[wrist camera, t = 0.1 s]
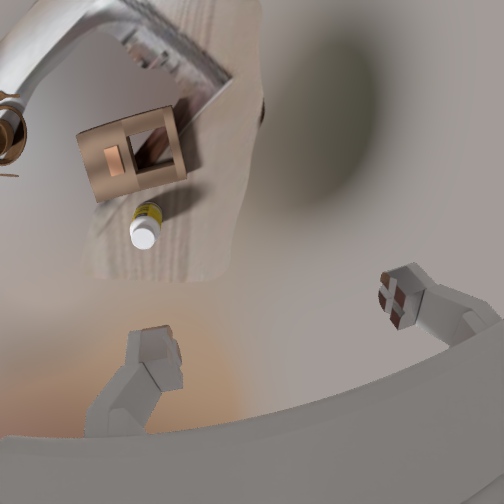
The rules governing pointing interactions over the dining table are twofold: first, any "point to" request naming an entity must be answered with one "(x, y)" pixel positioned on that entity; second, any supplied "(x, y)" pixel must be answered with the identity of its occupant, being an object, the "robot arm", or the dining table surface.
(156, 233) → the supplement bottle
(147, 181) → the block
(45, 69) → the dining table surface
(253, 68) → the dining table surface
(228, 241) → the dining table surface
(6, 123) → the place setting
